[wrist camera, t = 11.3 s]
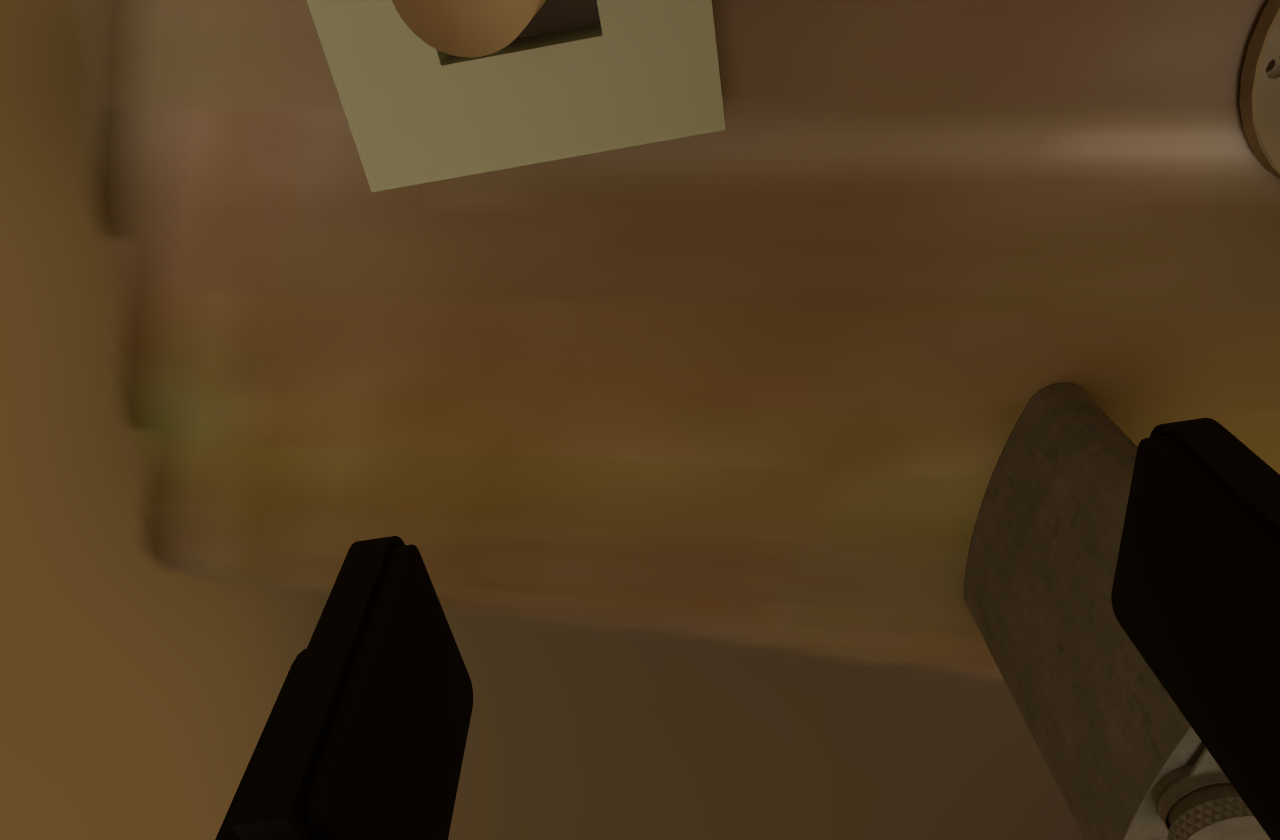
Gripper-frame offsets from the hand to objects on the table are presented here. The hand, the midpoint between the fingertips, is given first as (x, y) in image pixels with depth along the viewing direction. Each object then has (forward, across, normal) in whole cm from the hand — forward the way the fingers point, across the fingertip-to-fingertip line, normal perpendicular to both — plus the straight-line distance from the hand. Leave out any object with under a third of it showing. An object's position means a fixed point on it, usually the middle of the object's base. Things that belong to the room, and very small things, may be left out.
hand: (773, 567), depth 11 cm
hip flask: (+28, -16, +24) cm, 41 cm away
